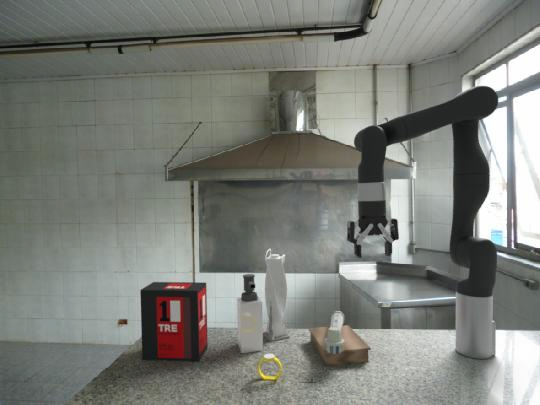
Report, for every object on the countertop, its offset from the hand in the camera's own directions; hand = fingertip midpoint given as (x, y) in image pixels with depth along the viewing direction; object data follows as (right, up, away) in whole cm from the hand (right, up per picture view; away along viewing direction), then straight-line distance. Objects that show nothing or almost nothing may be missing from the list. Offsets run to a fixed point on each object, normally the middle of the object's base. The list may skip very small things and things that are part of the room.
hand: (373, 256), depth 102 cm
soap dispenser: (-35, -29, +7) cm, 46 cm away
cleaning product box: (-57, -29, +5) cm, 64 cm away
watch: (-29, -30, -10) cm, 43 cm away
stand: (-9, -28, +5) cm, 30 cm away
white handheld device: (-10, -25, +5) cm, 27 cm away
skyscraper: (-27, -29, +17) cm, 43 cm away
